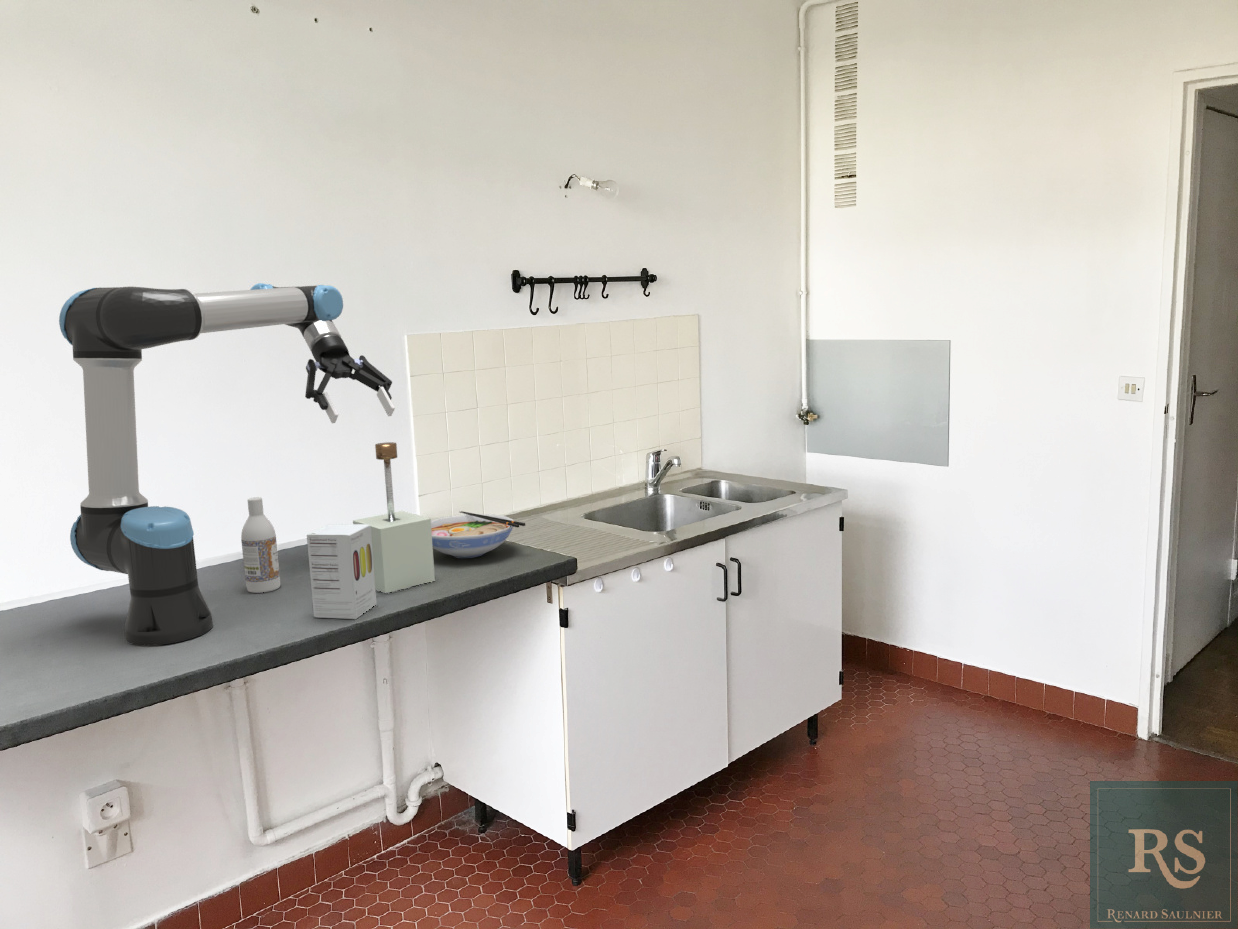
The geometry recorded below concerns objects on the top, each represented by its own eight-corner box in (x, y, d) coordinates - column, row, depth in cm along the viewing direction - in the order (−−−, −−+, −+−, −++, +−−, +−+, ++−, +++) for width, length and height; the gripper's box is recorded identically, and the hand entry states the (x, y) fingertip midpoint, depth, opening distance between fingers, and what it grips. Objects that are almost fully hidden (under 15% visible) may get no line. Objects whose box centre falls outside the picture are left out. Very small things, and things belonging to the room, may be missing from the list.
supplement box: (356, 620, 187) (349, 535, 184) (312, 618, 189) (304, 534, 186) (378, 604, 196) (371, 523, 193) (336, 603, 198) (329, 522, 195)
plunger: (383, 537, 203) (376, 448, 199) (362, 530, 209) (355, 444, 206) (422, 528, 209) (416, 443, 205) (400, 522, 215) (394, 439, 212)
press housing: (385, 594, 203) (380, 529, 200) (358, 583, 212) (352, 520, 209) (434, 581, 211) (430, 518, 208) (406, 571, 219) (402, 510, 217)
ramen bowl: (399, 555, 234) (397, 522, 232) (478, 537, 249) (477, 505, 247) (456, 575, 215) (454, 539, 214) (538, 554, 230) (536, 520, 229)
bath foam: (275, 593, 206) (265, 501, 203) (242, 594, 206) (232, 502, 203) (284, 583, 213) (276, 494, 210) (253, 584, 213) (243, 495, 210)
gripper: (371, 353, 231) (408, 420, 223) (269, 360, 215) (305, 433, 206) (380, 330, 227) (419, 398, 218) (277, 336, 210) (314, 410, 202)
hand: (364, 415), depth 212 cm, fingers open, 13 cm apart
